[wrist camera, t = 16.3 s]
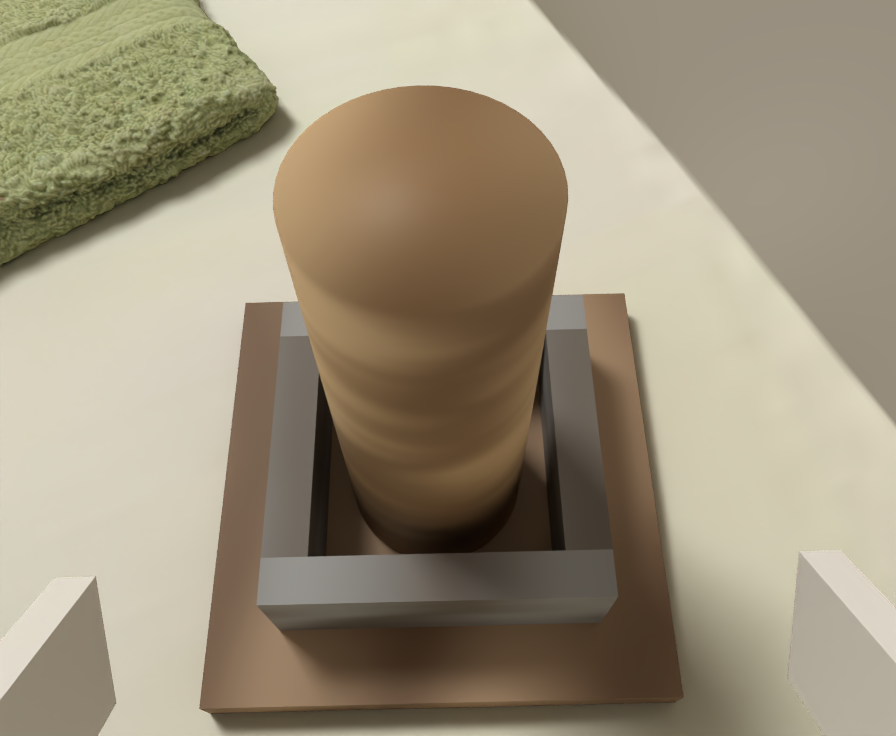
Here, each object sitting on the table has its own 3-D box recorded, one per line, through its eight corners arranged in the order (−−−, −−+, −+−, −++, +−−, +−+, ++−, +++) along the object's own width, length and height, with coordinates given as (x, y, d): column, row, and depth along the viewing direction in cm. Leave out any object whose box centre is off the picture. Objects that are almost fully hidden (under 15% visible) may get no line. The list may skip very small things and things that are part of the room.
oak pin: (352, 563, 24) (262, 316, 13) (356, 409, 27) (282, 89, 15) (524, 557, 24) (584, 306, 13) (512, 403, 27) (552, 81, 16)
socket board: (209, 713, 23) (164, 692, 20) (252, 318, 30) (224, 250, 26) (675, 701, 23) (712, 679, 20) (619, 309, 30) (640, 239, 26)
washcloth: (-214, 123, 35) (-273, 62, 32) (172, -30, 40) (149, -95, 37) (-132, 347, 30) (-194, 297, 27) (303, 141, 34) (289, 79, 32)
